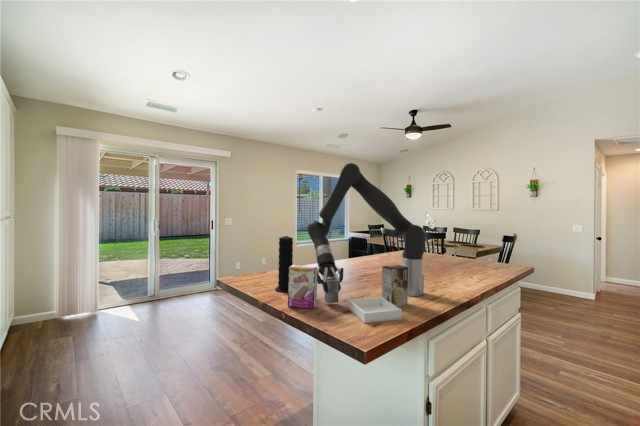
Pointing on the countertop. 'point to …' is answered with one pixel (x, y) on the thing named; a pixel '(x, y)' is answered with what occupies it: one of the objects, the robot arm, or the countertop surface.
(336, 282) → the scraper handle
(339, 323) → the countertop surface
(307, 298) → the candy bar box
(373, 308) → the tray
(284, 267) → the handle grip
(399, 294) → the coffee box
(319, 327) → the countertop surface
